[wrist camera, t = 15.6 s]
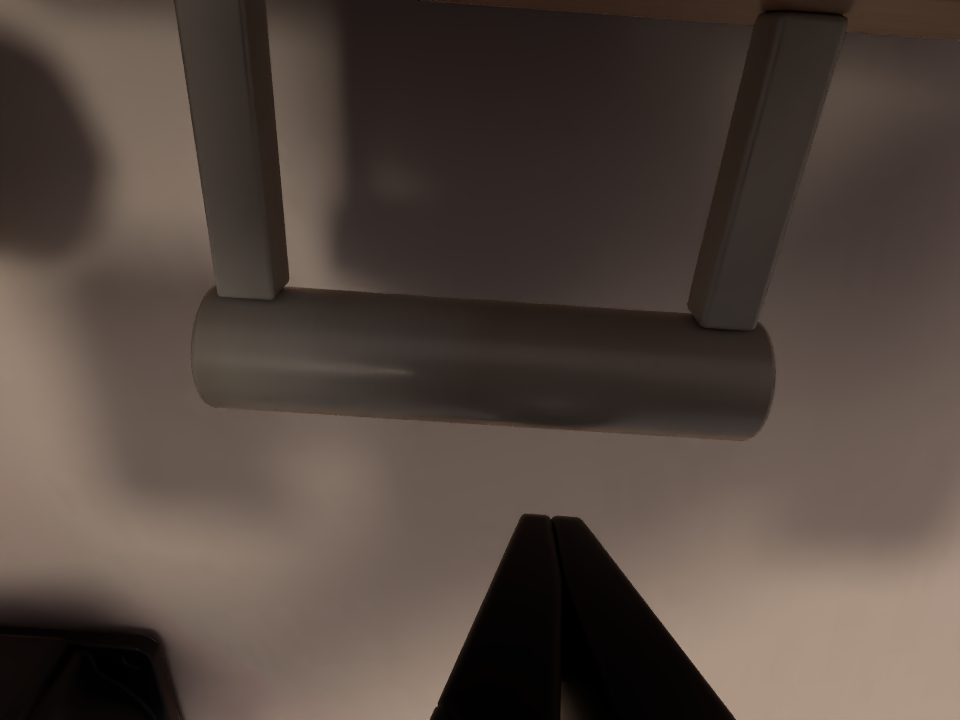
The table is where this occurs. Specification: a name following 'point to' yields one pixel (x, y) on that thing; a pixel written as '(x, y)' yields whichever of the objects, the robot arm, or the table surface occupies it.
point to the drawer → (502, 324)
